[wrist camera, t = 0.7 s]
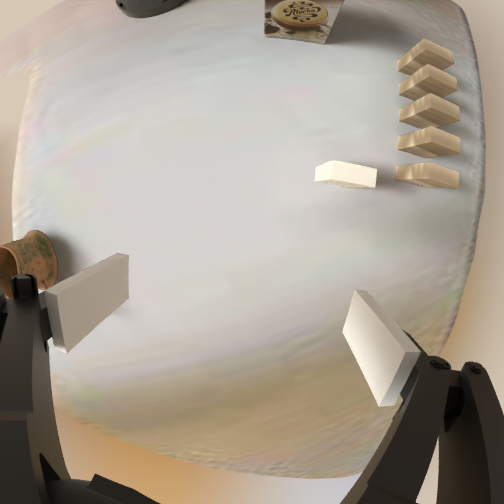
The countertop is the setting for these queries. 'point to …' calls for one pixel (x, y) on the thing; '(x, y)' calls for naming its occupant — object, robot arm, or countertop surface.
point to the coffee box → (300, 19)
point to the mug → (28, 261)
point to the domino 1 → (346, 175)
